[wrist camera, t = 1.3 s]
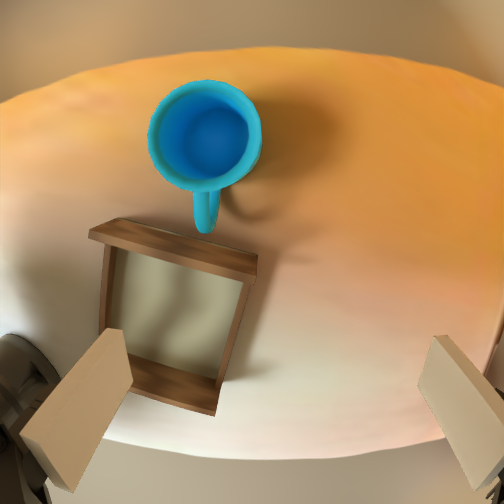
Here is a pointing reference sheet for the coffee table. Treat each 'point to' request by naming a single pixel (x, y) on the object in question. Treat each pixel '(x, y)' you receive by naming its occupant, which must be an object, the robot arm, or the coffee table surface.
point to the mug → (205, 142)
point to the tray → (173, 309)
